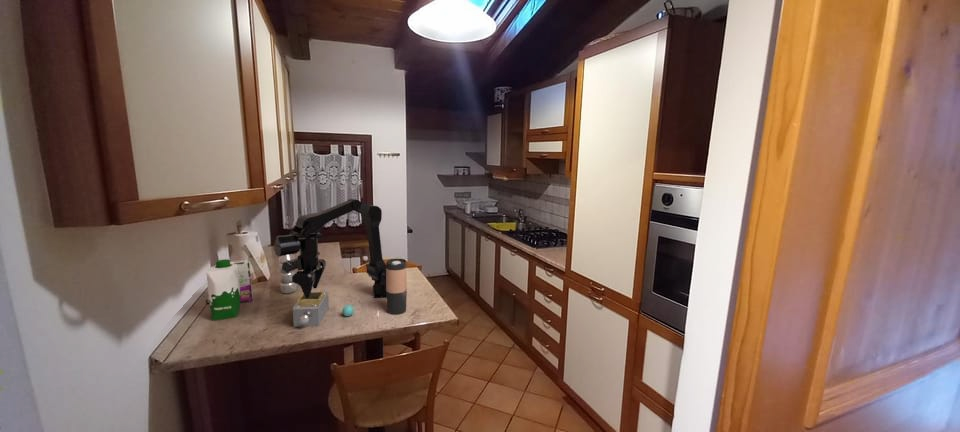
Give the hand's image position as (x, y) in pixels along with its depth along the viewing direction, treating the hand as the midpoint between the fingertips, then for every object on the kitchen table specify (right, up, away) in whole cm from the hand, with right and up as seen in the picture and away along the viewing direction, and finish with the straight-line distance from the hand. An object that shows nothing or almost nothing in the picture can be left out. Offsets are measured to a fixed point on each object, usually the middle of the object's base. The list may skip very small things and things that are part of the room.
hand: (311, 292), depth 122 cm
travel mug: (+29, -9, +9) cm, 32 cm away
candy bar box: (-37, -7, +14) cm, 40 cm away
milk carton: (-32, -9, +1) cm, 33 cm away
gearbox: (0, -10, 0) cm, 10 cm away
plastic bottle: (-22, -6, +24) cm, 33 cm away
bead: (+12, -7, +3) cm, 15 cm away
